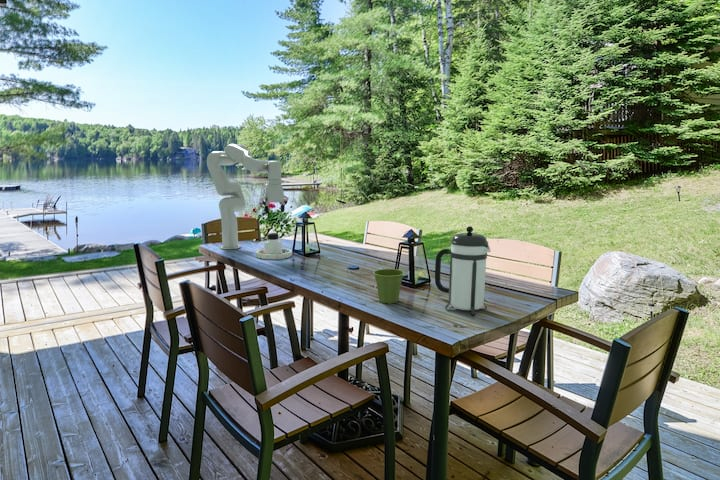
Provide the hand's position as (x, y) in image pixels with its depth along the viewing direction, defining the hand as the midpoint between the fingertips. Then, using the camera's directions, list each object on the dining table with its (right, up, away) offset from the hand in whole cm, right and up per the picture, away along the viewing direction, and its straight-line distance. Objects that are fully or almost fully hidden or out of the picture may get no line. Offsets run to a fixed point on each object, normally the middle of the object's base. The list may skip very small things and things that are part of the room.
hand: (274, 212), depth 252 cm
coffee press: (+86, -41, -97) cm, 136 cm away
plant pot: (+60, -39, -87) cm, 113 cm away
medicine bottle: (0, -24, -3) cm, 24 cm away
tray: (0, -25, -4) cm, 25 cm away
